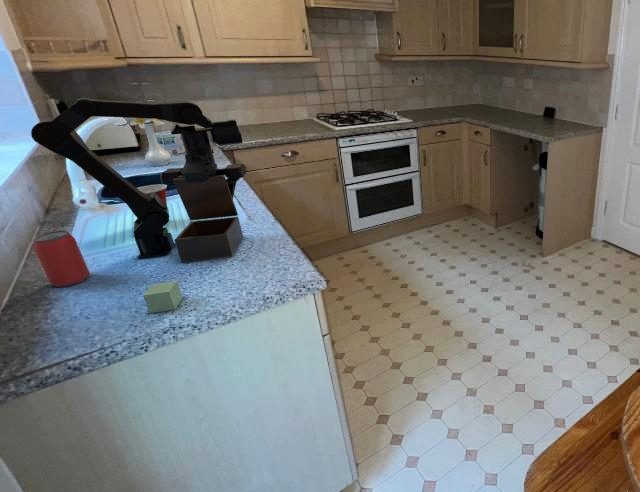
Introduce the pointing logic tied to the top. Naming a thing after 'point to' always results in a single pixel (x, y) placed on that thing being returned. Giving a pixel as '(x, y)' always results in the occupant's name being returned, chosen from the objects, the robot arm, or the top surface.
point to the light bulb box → (170, 142)
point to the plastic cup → (155, 190)
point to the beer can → (61, 258)
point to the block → (163, 297)
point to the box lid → (206, 198)
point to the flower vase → (152, 140)
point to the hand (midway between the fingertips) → (213, 202)
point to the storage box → (209, 239)
